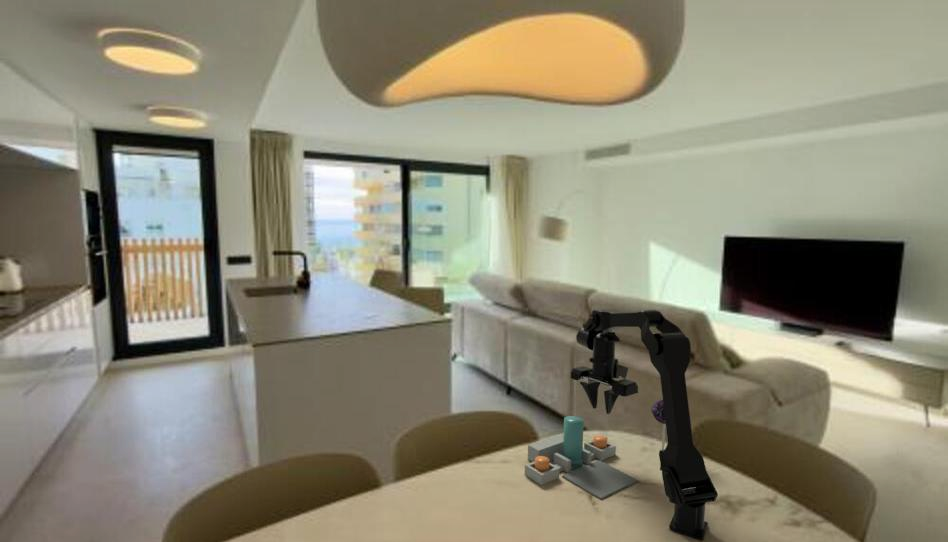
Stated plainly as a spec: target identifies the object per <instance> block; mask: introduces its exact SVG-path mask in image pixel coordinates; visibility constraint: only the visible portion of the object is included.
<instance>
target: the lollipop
mask: <svg viewBox="0 0 948 542" xmlns="http://www.w3.org/2000/svg"><path fill="white" fill-rule="evenodd" d="M651 413H652V415H653V417H654V419H655V420H656V421H657V422H659V423H660V424H662V438H661V450H665V441H666V440H665V439H666V422H665V413H664V404H663V399H660V400H659V399H658V400H657V401H656V402H654V404H653V406H652V407H651Z"/></svg>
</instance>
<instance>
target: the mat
mask: <svg viewBox="0 0 948 542" xmlns="http://www.w3.org/2000/svg"><path fill="white" fill-rule="evenodd" d="M561 477H562V479H565V480H567V481H569V482H570V483H572V484H573V485H575V486H577V487H579V488H580V489H582V490H583V491H586V492H587V493H589V494H591V495H592V496H595V497H596V498H598V499H599V500H603V499H605V498H607V497H609V496H611V495H613V494H615V493H618V492H619V491H622V490H624V489H626V488H627V486H628V487H629V485H630V486H631V484H632V485H634V484H636V483H637V482H639V479H637V478H635V477H634V476H632V475H629V474H628V473H626V472H623V471H621V470H619V469H617V468H616V467H614V466H611V465H609V464H608V463H606V462H603V460H599V459H598V460H595V461H594V462H591V464H586V465H584V466H582V467H581V468H579V469H573V470H571V472H569V473H567V472H566V473H564V474H562V476H561ZM633 483H634V484H633ZM625 487H626V488H625ZM623 488H624V489H623Z"/></svg>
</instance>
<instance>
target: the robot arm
mask: <svg viewBox="0 0 948 542" xmlns="http://www.w3.org/2000/svg"><path fill="white" fill-rule="evenodd" d="M624 327H625V328H626V327H627V328H629V327H630V328H632V327H633V328H634V327H635V328H636V327H637V328H639V329H640V341H641V342H642V343H643V345H644V347H645V348H646V349H647V351H648V355H649V358H650V363H651V364H652V365H653V366H654V368H655V370H656V371H657V373H658V374H659V377H660V387H661V394H662V400H663V404H664V413H665V422H666V425H665V431H666V438H667V444H666V447H664V450H662V449H660V450H659V452H658V456H659V462H660V467H659V470H660V471H661V477H662V482H663V488H664V493H665V496H666V497H667V498H668V499H669V502H670V503H672V504H674V509H673V516H672V517H671V520H670V523H669V524H668V528H669V530H671V531H674V532H677V533H680V534H683V535H685V536H687V537H691V538H695V539H697V540H701V541H704V540H705V537H706V533H707V529H708V526H709V523H708V522H707V521H705V517H706V516H705V515H706V503H709V502H716V500H717V498H718V495H719V494H718V491H717V490H716V487H715V486H714V484H713V481H712V479H711V477H710V475H709V473H708V471H707V468H706V464H705V460H704V456H703V455H702V453H701V452H700V451H699V449H698V448H697V447H696V445H695V443H694V439H693V438H694V437H693V429H692V422H691V414H690V405H689V396H688V389H687V382H686V372H687V370H688V369H689V368H688V367H689V365H690V364H691V361H692V359H691V358H692V357H691V355H692V353H691V352H692V351H691V349H692V347H691V341H690V339H689V337H687V336H686V334H685V333H684V332H683V331H682V330H681V328H680V327H679V326H678V325H676V323H675V324H674V323H673V322H671V321H670V320H668V319H667V318H666V317H665V316H664V314H662V312H661V311H659V310H657V309H647V310H646V309H644V310H643V309H642V310H639V311H625V312H624V311H622V310H620V309H617V308H609V309H608V308H602V309H593V310H592V311H591V314H590V316H589V317H588V319H587V322H585V323H582V328H580V329H579V330H578V331H577V333H576V336H575V339H576V343H577V344H578V345H579V346H582V347H583V348H586V349H588V350H590V351H592V357H589V362H590V363H592V366H591V367H592V368H591V367H588V366H584V365H582V366H578V367H574V368H572V370H571V371H570V379H572V380H575V381H577V382H578V381H580V380H581V381H580V382H579V385H581V386H582V389H583V390H584V391H585V393H586V396H587V398H588V400H589V402H590V405H591V407H592V408H593V409H597V408H598V407H597V406H598V398H599V397H598V395H599V393H598V392H599V387H600V386H601V384H602V385H605V386H608V387H609V388H608V389H607V390H606V389H605V390H604V391H603V395H604V404H605V412H606V415H609V414H611V412H612V410H613V409H614V405H615V404H616V402H617V399H618V397H620V396H621V397H628V396H629V397H630V396H632V395H635V394H638V393H639V386H638V384H637V382H636V381H633V380H630V379H626V378H627V374H628V372H629V367H628V366H624V365H621V364H619V359H618V358H616V357H615V355H616V352H615V351H616V343H620V341H621V339H620V338H619V336H618V335H617V334H616V332H615V331H617V330H620V329H623V328H624ZM650 328H656V330H657V331H658V333H654V334H653V332H652V330H651V329H650ZM620 377H621V378H623V379H619V378H620ZM616 379H619V380H616Z"/></svg>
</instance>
